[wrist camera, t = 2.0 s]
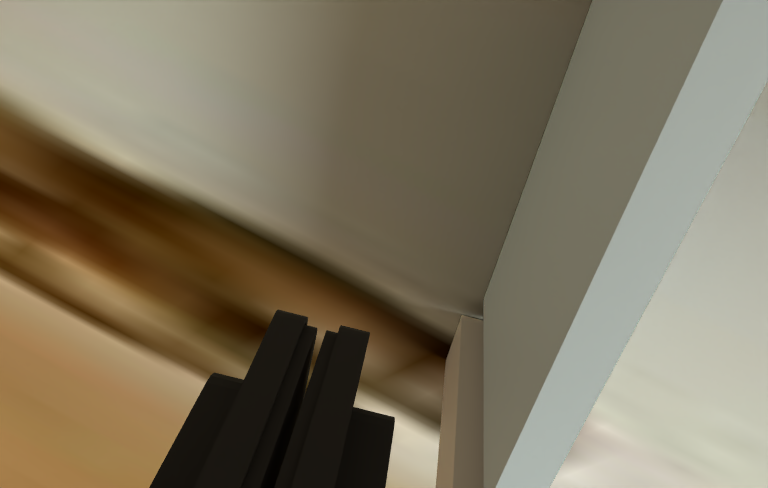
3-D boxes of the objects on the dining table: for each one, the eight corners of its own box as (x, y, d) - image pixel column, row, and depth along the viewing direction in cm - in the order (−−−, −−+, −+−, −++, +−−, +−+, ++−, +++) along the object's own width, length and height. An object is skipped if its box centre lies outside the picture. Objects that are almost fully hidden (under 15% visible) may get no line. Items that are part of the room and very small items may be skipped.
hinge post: (520, 330, 31) (541, 568, 20) (502, 374, 32) (511, 617, 21) (461, 314, 31) (450, 544, 20) (446, 360, 32) (427, 595, 21)
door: (507, 323, 30) (520, 561, 20) (477, 315, 30) (474, 548, 20) (655, -50, 22) (826, 6, 11) (614, -60, 22) (743, -15, 11)
